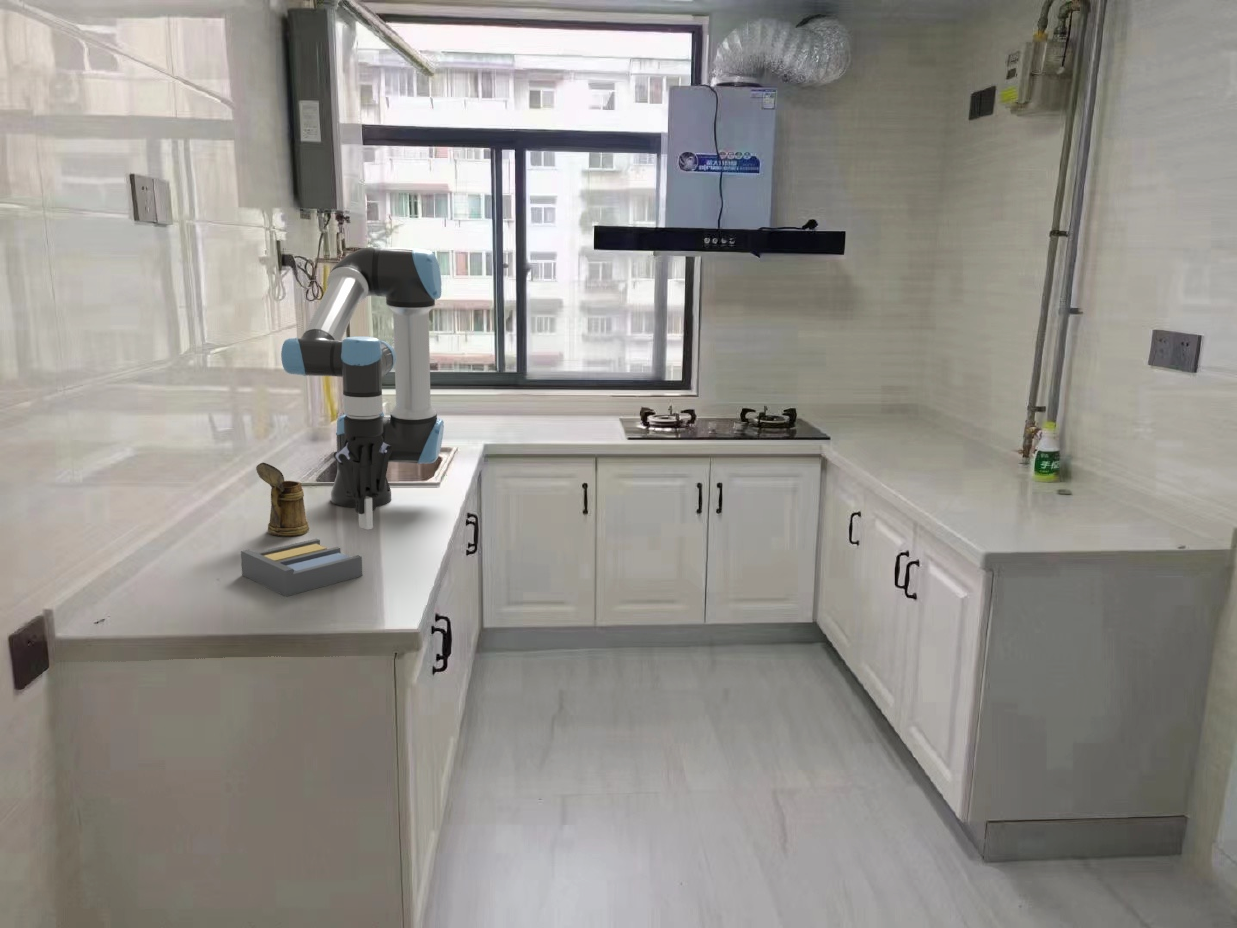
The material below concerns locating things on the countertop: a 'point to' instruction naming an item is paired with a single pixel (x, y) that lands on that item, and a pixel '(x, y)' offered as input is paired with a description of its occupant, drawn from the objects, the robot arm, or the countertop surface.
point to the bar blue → (317, 561)
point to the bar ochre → (295, 552)
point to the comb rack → (299, 581)
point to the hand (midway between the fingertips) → (365, 527)
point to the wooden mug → (284, 503)
